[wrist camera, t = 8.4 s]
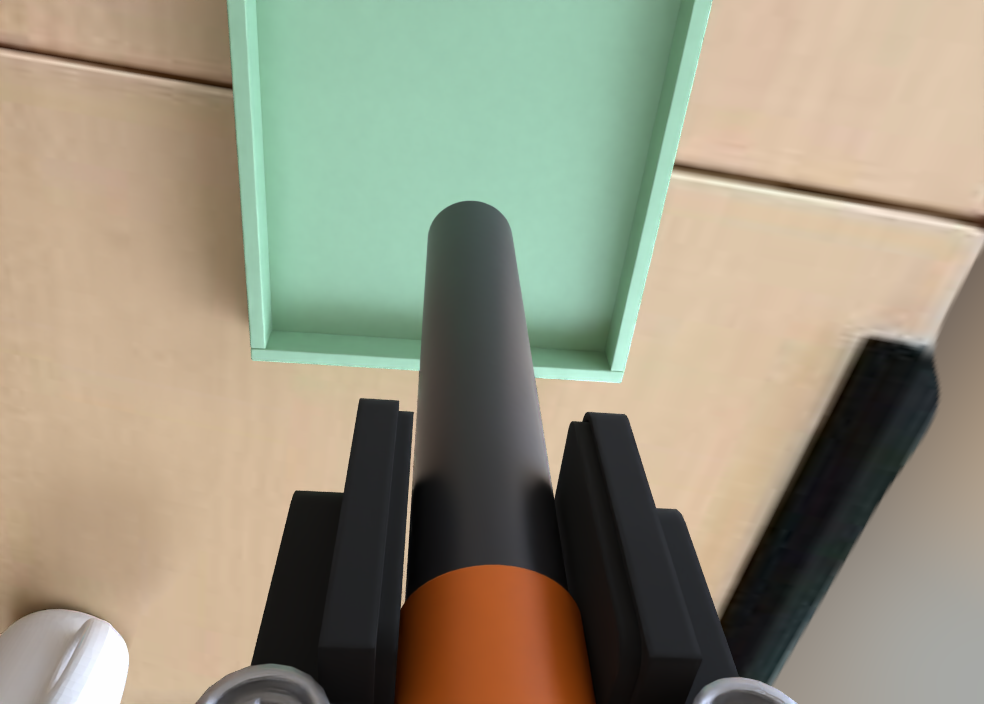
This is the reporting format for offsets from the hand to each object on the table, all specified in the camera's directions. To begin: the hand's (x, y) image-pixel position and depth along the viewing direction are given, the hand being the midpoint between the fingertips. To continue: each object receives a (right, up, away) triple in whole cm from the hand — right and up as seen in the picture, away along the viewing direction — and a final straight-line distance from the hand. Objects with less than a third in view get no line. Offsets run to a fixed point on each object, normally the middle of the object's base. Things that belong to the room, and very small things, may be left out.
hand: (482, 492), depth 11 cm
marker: (0, +5, +7) cm, 9 cm away
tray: (-1, +11, +17) cm, 20 cm away
